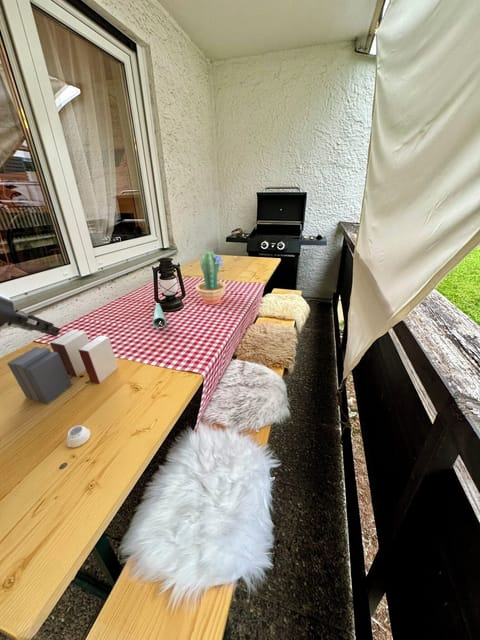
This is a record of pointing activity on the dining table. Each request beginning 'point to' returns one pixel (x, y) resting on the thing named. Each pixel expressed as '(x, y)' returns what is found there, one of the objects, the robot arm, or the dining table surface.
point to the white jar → (77, 436)
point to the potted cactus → (211, 279)
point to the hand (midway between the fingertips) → (44, 329)
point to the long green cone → (158, 317)
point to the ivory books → (71, 351)
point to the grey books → (40, 374)
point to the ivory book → (98, 359)
